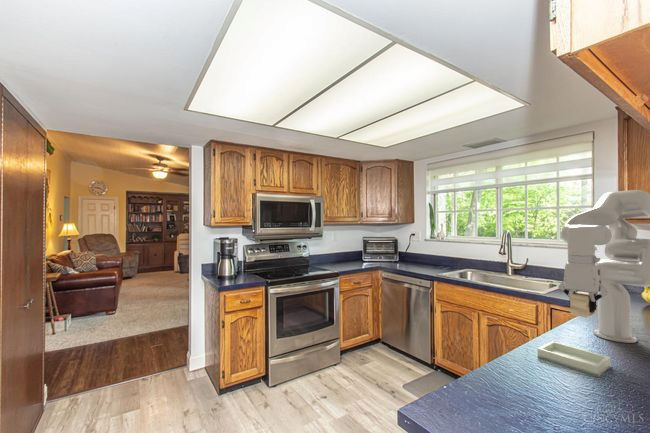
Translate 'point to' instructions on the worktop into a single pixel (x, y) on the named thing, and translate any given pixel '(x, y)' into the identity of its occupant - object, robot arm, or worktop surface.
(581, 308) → the block
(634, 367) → the worktop surface
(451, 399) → the worktop surface
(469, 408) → the worktop surface
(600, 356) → the tray
